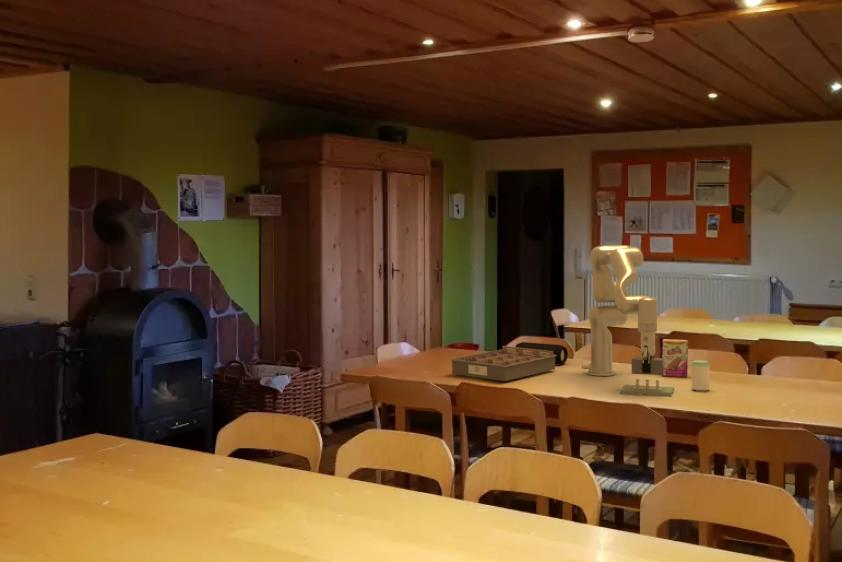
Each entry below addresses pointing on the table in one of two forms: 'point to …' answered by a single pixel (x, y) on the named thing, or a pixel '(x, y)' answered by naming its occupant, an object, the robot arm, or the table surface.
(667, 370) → the candy bar box
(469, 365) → the organizer tray
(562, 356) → the portable speaker
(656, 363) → the plug housing
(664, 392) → the pin board
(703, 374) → the can
